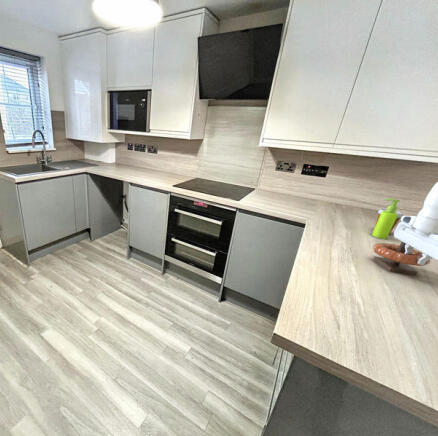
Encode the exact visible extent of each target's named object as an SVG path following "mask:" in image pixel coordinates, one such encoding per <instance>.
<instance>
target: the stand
mask: <svg viewBox="0 0 438 436" xmlns="http://www.w3.org/2000/svg"><path fill="white" fill-rule="evenodd" d="M405 245H406V243H404V242H402V241H400V243H399V248H398V250H397V252H399V253H404V254H405V252H406V251H405ZM372 260H373V261H374V262H375V263H377V264H378V265H380V266H381V267H383V268H384V269H386V270H387V271H388V272H392V273H400V274H406V275H413V276H417V275H418V273H419V271H418V270H416V269H415V268H413V267H412V266H411V265H407V264H403V263H399V262H395V261H392V260H390V259H387V258H384V257H382V256H376V255H374V257H373V259H372Z"/></svg>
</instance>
